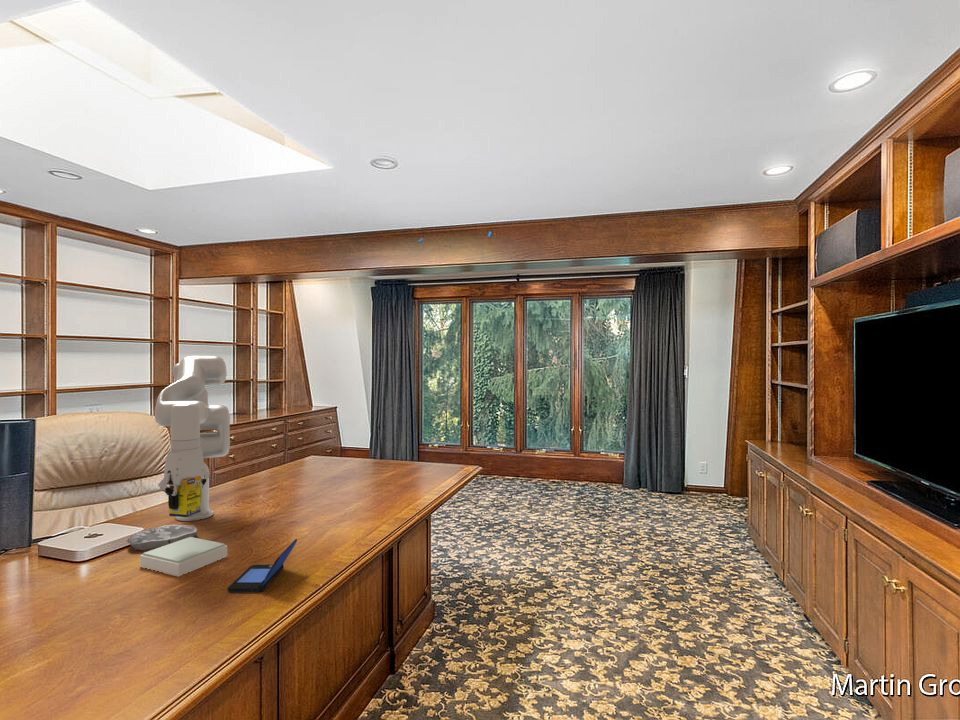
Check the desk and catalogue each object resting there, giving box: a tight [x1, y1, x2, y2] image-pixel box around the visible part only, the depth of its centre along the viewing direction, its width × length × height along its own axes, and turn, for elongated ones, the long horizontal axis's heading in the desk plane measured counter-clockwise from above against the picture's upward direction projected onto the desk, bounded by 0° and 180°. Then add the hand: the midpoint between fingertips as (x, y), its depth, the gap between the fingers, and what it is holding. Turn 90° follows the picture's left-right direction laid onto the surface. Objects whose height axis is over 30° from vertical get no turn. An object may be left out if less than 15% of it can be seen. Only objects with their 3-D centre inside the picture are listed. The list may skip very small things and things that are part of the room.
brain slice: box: [127, 524, 198, 551], centre depth 171 cm, size 20×17×3 cm
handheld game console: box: [227, 538, 298, 593], centre depth 141 cm, size 16×13×9 cm
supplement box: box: [168, 476, 201, 518], centre depth 153 cm, size 6×6×11 cm
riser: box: [139, 536, 228, 578], centre depth 153 cm, size 16×16×4 cm
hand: (185, 504), depth 153 cm, fingers closed on supplement box, 6 cm apart
